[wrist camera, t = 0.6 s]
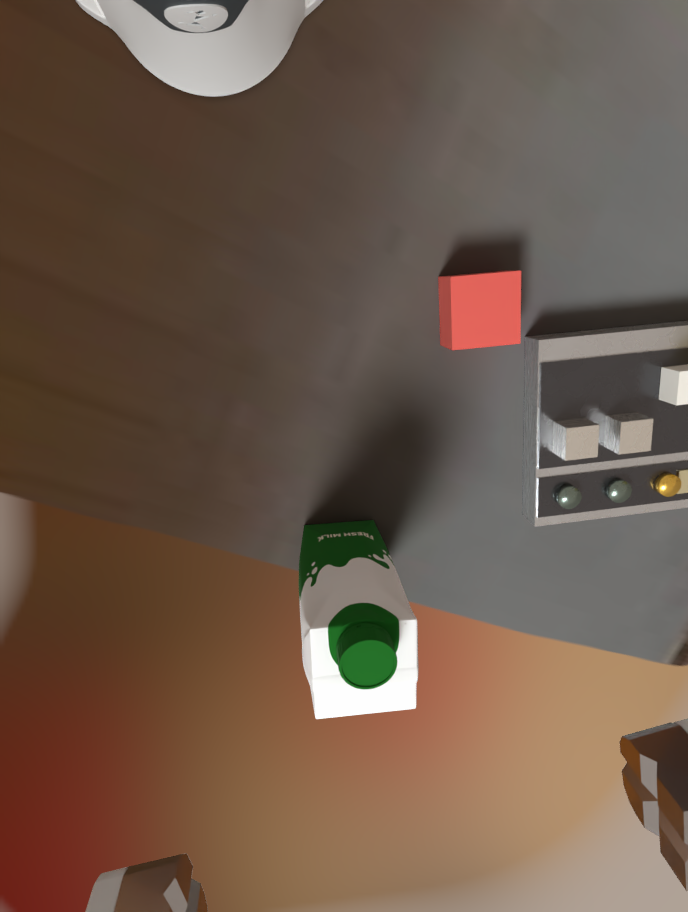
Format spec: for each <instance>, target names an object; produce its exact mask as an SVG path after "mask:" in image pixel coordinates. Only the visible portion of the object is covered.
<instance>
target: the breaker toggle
mask: <svg viewBox="0 0 688 912" xmlns="http://www.w3.org/2000/svg"><path fill="white" fill-rule="evenodd" d="M659 400H661V401H664V402H667V403H670V404H674V405H685V404H688V364H687V365H678V366H668V367H661V378H660V389H659Z"/></svg>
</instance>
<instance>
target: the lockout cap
mask: <svg viewBox="0 0 688 912" xmlns="http://www.w3.org/2000/svg"><path fill="white" fill-rule="evenodd" d="M438 281H439V313H440V345H441V346H444V347H446V348H448V349H450V350H460V349H470V348H480V347H490V346H500V345H510V344H520V329H521V271H496V272H485V273H474V274H463V275H452V276H441V277H438Z"/></svg>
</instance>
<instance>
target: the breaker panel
mask: <svg viewBox="0 0 688 912" xmlns="http://www.w3.org/2000/svg"><path fill="white" fill-rule="evenodd" d="M687 364H688V320H687V321H677V322H667V323H657V324H647V325H637V326H627V327H617V328H607V329H597V330H587V331H577V332H567V333H557V334H547V335H537V336H527V337H525V364H524V432H523V500H522V515H523V516H524V517H525V518H526V519H527V520H528V521H529V522H530V523H531V524H533V525H534V526H535V527H536V526H543V525H551V524H559V523H567V522H575V521H583V520H591V519H599V518H607V517H615V516H623V515H631V514H639V513H647V512H655V511H663V510H671V509H679V508H687V507H688V404H685V405H674V404H670V403H667V402H664V401H661V400H659V389H660V378H661V367H668V366H678V365H687Z"/></svg>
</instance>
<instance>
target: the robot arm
mask: <svg viewBox="0 0 688 912" xmlns="http://www.w3.org/2000/svg"><path fill="white" fill-rule="evenodd" d="M322 1H323V0H76V2H77V3H78V5H79V6H80V7H81V8H82V9H83V10H84V11H85V12H87V13H88V14H89V15H91V16H92V17H94V18H95V19H97V20H99V21H100V22H102V23H103V24H105V25H107V26H108V27H110V28H112V29H113V30H114V31H115V32H116V33H117V34H118V36H119V37H120V38H121V39H122V40H123V42H124V43H125V44H126V46H127V47H128V48H129V50H130V51H131V52H132V53H133V55H134V56H135V57H136V58H137V59H138V60H139V62H140V63H141V64H142V65H143V66H144V67H146V68H147V69H148V70H149V71H150V72H151V73H152V74H154V75H155V76H156V77H158V78H159V79H161V80H162V81H164V82H165V83H167V84H169V85H171V86H173V87H175V88H177V89H179V90H182V91H185V92H188V93H191V94H196V95H202V96H226V95H231V94H235V93H238V92H241V91H244V90H246V89H248V88H251V87H252V86H254V85H256V84H258V83H259V82H260V81H262V80H263V79H264V78H266V77H267V76H268V75H269V74H270V73H271V72H272V71H273V70H274V69H275V68H276V67H277V66H278V64H279V63H280V62H281V60H282V59H283V58H284V56H285V54H286V53H287V51H288V49H289V47H290V46H291V43H292V41H293V39H294V37H295V34H296V32H297V30H298V28H299V26H300V24H301V22H302V21H303V19H304V18H305V17H306V16H307V15H308V14H310V13H311V12H312V11H313V10H314V9H315V8H316V7H317V6H318V5H319V4H320V3H321V2H322ZM620 752H621V754H622V755H623V757H624V758H625V760H626V761H627V764H626V765H625V767H624V768H623V770H622V776H623V784H624V788H625V791H626V793H627V796H628V799H629V802H630V804H631V806H632V808H633V810H634V812H635V814H636V815H637V817H638V818H639V820H640V821H641V823H642V825H643V826H644V828H646V829H648V830H649V831H651V832H653V833H654V834H656V835H658V836H659V837H660V851H661V854H662V855H663V857H664V858H665V860H666V861H667V863H668V864H669V866H670V867H671V869H672V870H673V872H674V873H675V875H676V876H677V878H678V879H679V880H680V882H681V884H682V885H683V886H684V888H685V890H686V891H688V719H685V720H681V721H677V722H674V723H667V724H664V725H660V726H657V727H653V728H650V729H646V730H643V731H639V732H635V733H632V734H628V735H625V736H622V737H621V740H620ZM192 869H193V865H192V863H191V861H190V859H189V857H188V855H187V854H181V855H176V856H172V857H168V858H164V859H160V860H156V861H151V862H147V863H142V864H138V865H134V866H129V867H126V868H122V869H118V870H114V871H110V872H106V873H102V874H101V875H100V876H99V878H98V879H97V881H96V883H95V884H94V886H93V889H92V893H91V896H90V899H89V903H88V906H87V909H86V912H208V908H207V903H206V898H205V894H204V891H203V888H202V886H201V884H200V883H199V882H197V881H195V880H193V879H191V877H192Z"/></svg>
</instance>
